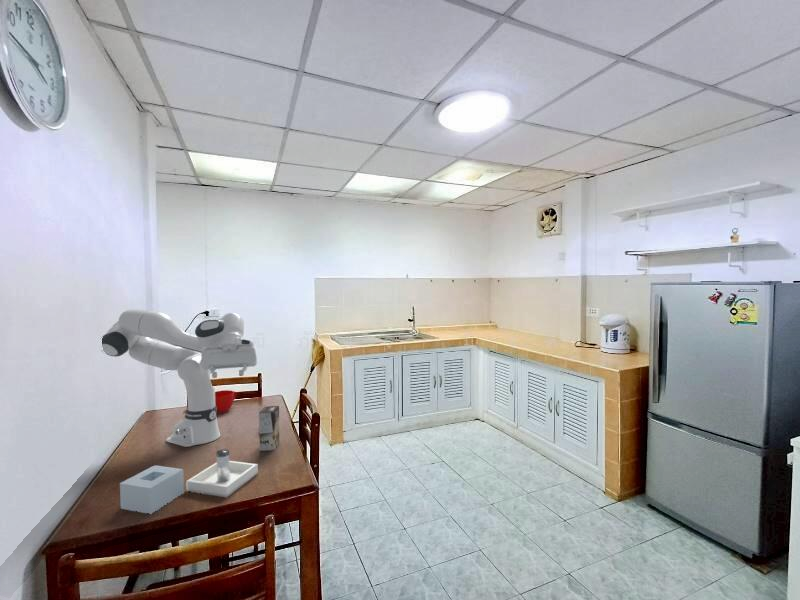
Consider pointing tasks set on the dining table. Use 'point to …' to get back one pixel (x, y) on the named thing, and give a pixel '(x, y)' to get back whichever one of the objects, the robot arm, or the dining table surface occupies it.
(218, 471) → the steel pin
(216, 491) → the tray
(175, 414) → the dining table surface
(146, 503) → the socket block
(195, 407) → the robot arm
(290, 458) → the dining table surface
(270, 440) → the coffee box
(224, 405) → the ceramic cup
